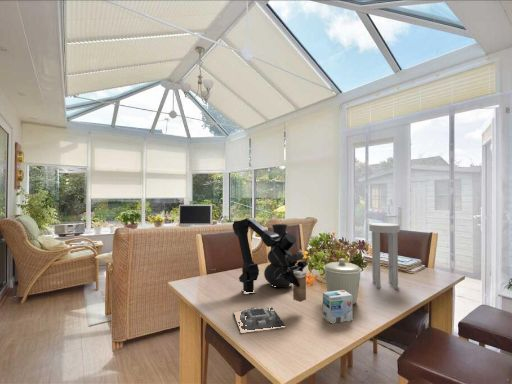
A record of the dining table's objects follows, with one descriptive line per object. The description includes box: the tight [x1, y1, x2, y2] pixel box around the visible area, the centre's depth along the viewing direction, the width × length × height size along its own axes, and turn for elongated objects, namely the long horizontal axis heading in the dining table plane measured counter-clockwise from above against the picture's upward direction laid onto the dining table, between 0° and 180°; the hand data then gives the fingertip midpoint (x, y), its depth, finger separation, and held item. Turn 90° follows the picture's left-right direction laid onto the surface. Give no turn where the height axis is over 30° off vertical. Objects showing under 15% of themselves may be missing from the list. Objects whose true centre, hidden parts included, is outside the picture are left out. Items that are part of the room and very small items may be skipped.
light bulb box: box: [322, 290, 353, 324], centre depth 115 cm, size 11×7×11 cm, turn 105°
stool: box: [368, 222, 401, 290], centre depth 157 cm, size 16×16×35 cm
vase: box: [263, 223, 294, 288], centre depth 157 cm, size 18×18×35 cm
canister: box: [322, 258, 363, 306], centre depth 133 cm, size 18×18×21 cm
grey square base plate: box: [238, 306, 286, 330], centre depth 114 cm, size 18×18×4 cm
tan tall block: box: [292, 271, 307, 303], centre depth 121 cm, size 4×4×12 cm
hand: (301, 285), depth 120 cm, fingers closed on tan tall block, 4 cm apart
